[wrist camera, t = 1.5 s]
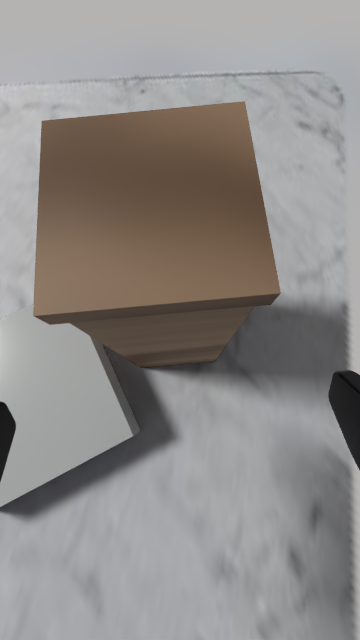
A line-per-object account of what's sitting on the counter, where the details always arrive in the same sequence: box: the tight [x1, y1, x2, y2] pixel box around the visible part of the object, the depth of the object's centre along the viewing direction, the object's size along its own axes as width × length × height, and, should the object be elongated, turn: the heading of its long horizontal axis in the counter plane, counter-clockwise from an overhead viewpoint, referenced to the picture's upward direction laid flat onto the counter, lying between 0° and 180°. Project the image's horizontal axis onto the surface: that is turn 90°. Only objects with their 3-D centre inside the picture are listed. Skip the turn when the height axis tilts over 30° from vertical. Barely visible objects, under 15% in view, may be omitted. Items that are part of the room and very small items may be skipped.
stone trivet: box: [0, 303, 140, 507], centre depth 18 cm, size 10×10×3 cm
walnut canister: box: [33, 101, 281, 368], centre depth 14 cm, size 5×5×14 cm
